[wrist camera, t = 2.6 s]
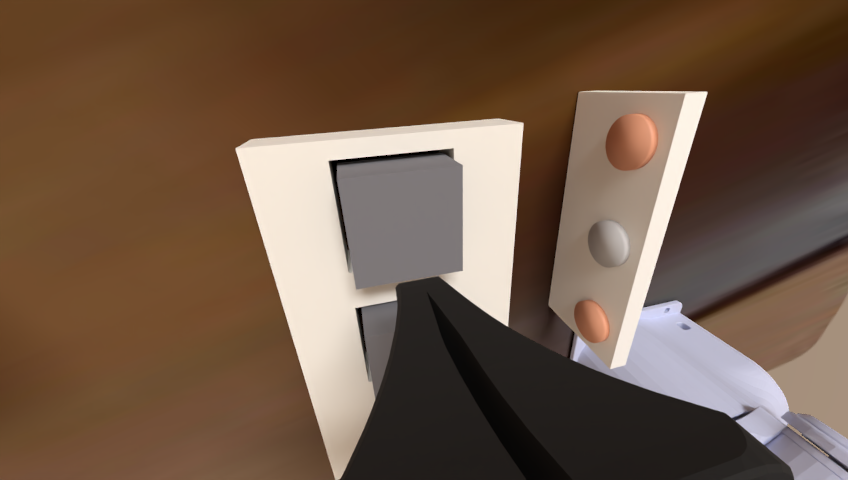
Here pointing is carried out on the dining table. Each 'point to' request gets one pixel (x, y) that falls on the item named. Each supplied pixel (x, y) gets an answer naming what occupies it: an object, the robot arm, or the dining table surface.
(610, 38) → the dining table surface
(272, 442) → the dining table surface
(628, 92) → the card
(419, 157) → the button mug side
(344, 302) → the button board
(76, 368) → the dining table surface
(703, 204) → the dining table surface
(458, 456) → the robot arm
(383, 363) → the button middle
